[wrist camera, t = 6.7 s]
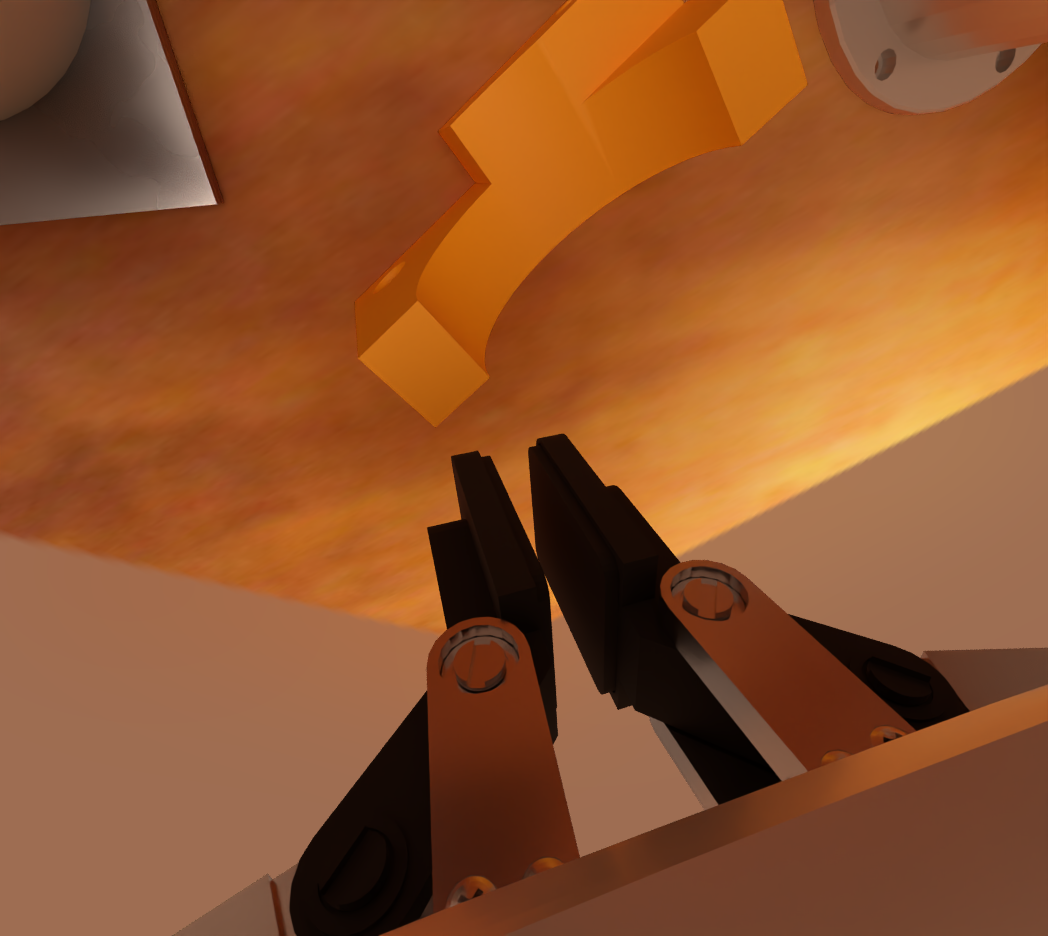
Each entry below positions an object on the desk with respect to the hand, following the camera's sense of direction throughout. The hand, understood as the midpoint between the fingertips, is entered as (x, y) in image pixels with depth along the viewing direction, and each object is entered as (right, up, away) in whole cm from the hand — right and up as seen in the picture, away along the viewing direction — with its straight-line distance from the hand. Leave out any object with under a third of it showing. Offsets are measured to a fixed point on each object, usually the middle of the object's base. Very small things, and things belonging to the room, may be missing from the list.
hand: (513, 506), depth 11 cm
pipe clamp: (-1, +10, +6) cm, 12 cm away
